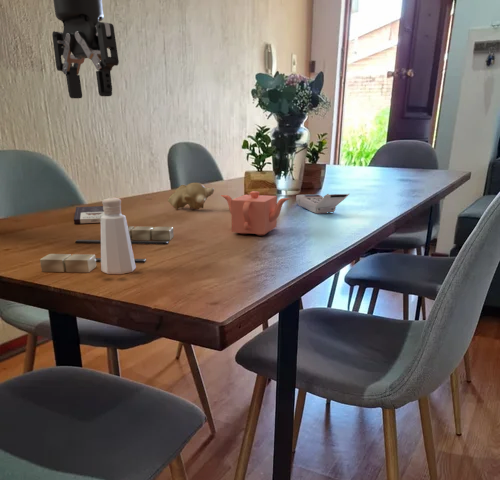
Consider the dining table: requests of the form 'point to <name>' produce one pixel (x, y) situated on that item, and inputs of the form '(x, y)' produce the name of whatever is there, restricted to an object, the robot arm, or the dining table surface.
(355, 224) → the dining table surface
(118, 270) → the pepper shaker
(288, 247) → the dining table surface
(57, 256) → the front word
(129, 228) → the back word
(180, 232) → the dining table surface
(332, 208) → the mobile phone
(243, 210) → the teapot
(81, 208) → the chocolate bar
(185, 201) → the rhino figurine
